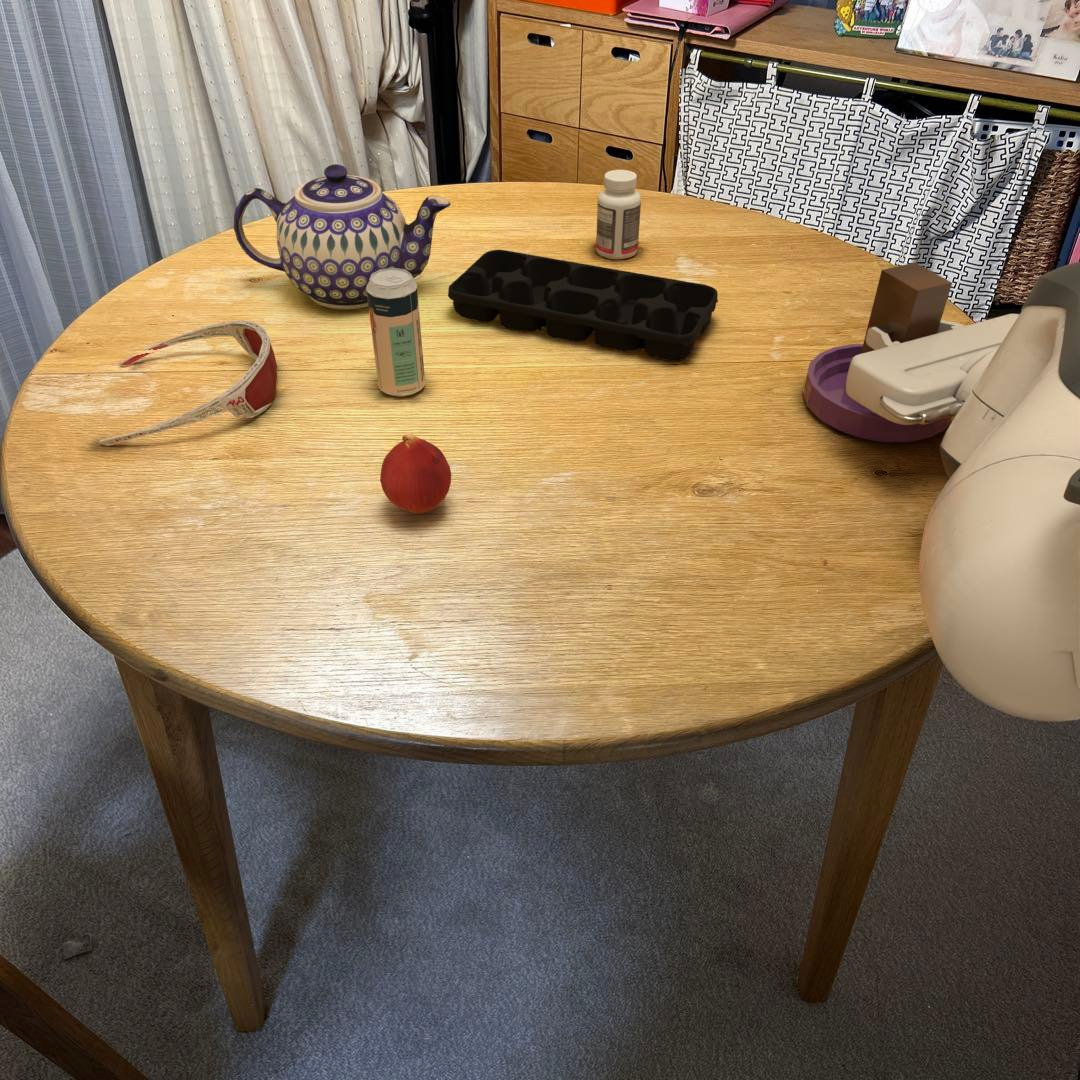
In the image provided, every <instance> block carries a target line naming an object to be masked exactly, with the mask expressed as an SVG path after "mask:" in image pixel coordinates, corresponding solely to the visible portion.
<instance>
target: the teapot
mask: <svg viewBox="0 0 1080 1080" xmlns="http://www.w3.org/2000/svg"><path fill="white" fill-rule="evenodd" d="M323 175H324V176H321V177H317V178H314V179H312V180H309V181H306V182H304V183H302V184H300V186H298V187H297V188H296V189H295V190H294V196H293V197H292V198H291V199H289V200H288V201H287V202H282V201H280V200H279V199H278V198H276V197H275V196H274V195H273V194H271V193H269V192H268V191H266V190H265V189H263V188H258V187H254V188H251V189H249V191H247V192H245V193H244V194H243V196H242V197H240V199H239V201H238V204H237V205H236V207H235V210H234V214H233V231H234V234H235V238H236V240H237V243H238V244H239V246H240V248H241V249H242V251H243V252H244V253H245V254H246V255H247V256H248V257H249V258H250V259H252V260H253V261H255V262H257V263H258V264H260V265H263V266H264V267H267V268H270V269H274V270H276V271H280V272H283V273H285V274H286V276H287V278H288V279H289V281H290V282H291V284H292V285H293V286H294V287H296V288H297V289H298V290H299V291H301V292H302V293H303V294H304V295H306V296H308V297H309V298H310V299H311V301H313V302H314V303H315V304H317V305H319V306H321V307H323V308H328V309H333V310H344V311H345V310H348V311H349V310H358V309H363V308H369V306H368V298H367V290H366V287H367V284H368V283H369V281H370V277H371V274H372V273H374V272H376V271H378V270H380V269H388V268H398V269H405V270H406V271H408V272H409V273H411V275H412V277H413V278H414V279H415V278H417V277H418V276H420V275H422V273H423V271H424V270H425V269H426V267H427V265H428V264H429V260H430V257H431V250H432V242H433V233H434V225H435V220H436V218H437V214H439V213H440V212H442V211H444V210H445V209H447V208H449V207H450V206H451V205H452V203H451V202H450V201H449V200H448V199H446V198H445V197H441V196H440V195H439V196H438V195H429V196H426V198H425V199H424V200H422V203H421V204H420V207H419V209H418V210H417V213H416V217H415V220H413V221H411V222H410V223H409V224H408V223H407V221H406V218H405V216H404V213H403V212H402V210H401V208H400V207H399V206H398V204H397V203H396V202H395V201H394V200H393V199H392V198H391V197H389V196H388V195H386V194H385V193H384V192H383V191H382V188H381V186H380V185H379V184H378V183H377V182H375V181H374V180H372V179H370V178H366V177H363V176H359V175H349V174H348V169H347V168H346V167H345V166H344V165H342V164H336V163H335V164H330V165H328V166H327V167H325V168H324V170H323ZM253 200H258V201H261V202H263V203H264V204H265V205H266V207H268V209H269V210H270V211H269V212H270V213H271V215H272V218H273V219H274V221H275V224H276V244H277V251H278V255H279V257H278V258H277V257H276V258H274V257H271V256H268V255H265V254H263V253H261V252H260V251H259V250H257V248H255V246H253V244H252V243H251V242H250V241H249V239H248V238H247V236H246V234H245V230H244V227H243V218H244V214H245V212H246V209H247V207H248V206H249V204H250V203H251V202H252V201H253Z"/></svg>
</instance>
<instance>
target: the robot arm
mask: <svg viewBox="0 0 1080 1080" xmlns="http://www.w3.org/2000/svg"><path fill="white" fill-rule="evenodd" d="M1020 311H1021V312H1020V313H1008V314H1004V315H1001V316H997V317H993V318H990V319H986V320H981V321H979V322H975V323H971V324H967V325H965V324H962V323H959V322H955V321H950V320H945V319H941V322H940V325H939V328H938V332H937V334H934V335H930V336H926V337H922V338H919V339H915V340H911V341H907V342H904V343H900V342H898V341H895V342H892V341H891V339H892V336H893V332H894V331H892V330H891V329H889V328H886V326H884V325H880V326H876V327H872V328H869V329H868V332H867V336H866V343H867V345H868V346H870V347H871V348H873V349H874V351H870V352H866V353H863V354H859V355H856V356H854V357H853V359H852V360H851V363H850V367H849V370H848V374H847V379H846V393H847V395H848V396H849V397H850V398H852V399H853V400H855V401H856V402H858V403H859V404H861V405H862V406H864V407H866V408H867V409H869V410H871V411H872V412H874V413H876V414H878V415H880V416H881V417H883V418H885V419H887V420H889V421H892V422H894V423H897V424H902V425H913V424H918V423H919V424H921V425H925V424H930V423H933V422H935V421H936V420H939V419H944V418H950V417H951V422H950V423H949V425H948V428H946V431H945V434H944V435H943V438H942V440H941V443H939V454H940V459H941V462H942V466H943V468H944V471H945V474H946V476H947V478H948V480H947V481H946V483H945V485H944V486H943V487H942V489H941V491H940V492H939V494H938V495H937V497H936V498H935V500H934V503H933V505H932V506H931V509H930V510H929V513H928V515H927V518H926V521H925V524H924V528H923V532H922V538H921V545H920V551H919V552H920V553H919V564H918V565H919V567H918V580H919V581H918V582H919V593H920V599H921V605H922V607H921V608H922V610H923V614H924V618H925V619H924V620H925V622H926V626H927V629H928V632H929V635H930V637H931V641H932V642H933V645H934V648H935V650H936V652H937V655H938V656H939V658H940V661H941V663H942V664H943V665H944V667H945V668H946V669H947V671H948V672H949V674H950V675H951V677H952V678H953V679H954V680H955V681H956V682H957V684H959V685H960V687H962V688H963V689H964V690H965V691H966V692H967V693H968V694H969V695H971V696H972V697H974V698H975V699H977V700H978V701H979V702H982V703H983V704H985V705H986V706H989V707H990V708H993V709H995V710H997V711H999V712H1001V713H1004V714H1007V715H1010V716H1013V717H1015V718H1019V719H1025V720H1028V721H1037V722H1045V723H1047V722H1048V723H1049V722H1052V723H1054V722H1055V723H1056V722H1059V723H1060V722H1061V723H1062V722H1069V721H1078V720H1080V261H1079V260H1078V261H1075V262H1072V263H1068V264H1066V265H1063V266H1061V267H1058V268H1055V269H1053V270H1051V271H1048V272H1046V273H1044V274H1042V275H1040V276H1038V278H1037V280H1036V281H1035V283H1034V285H1033V286H1032V289H1031V290H1030V292H1029V294H1028V296H1027V297H1026V299H1025V301H1024V303H1023V305H1022V307H1021V310H1020Z"/></svg>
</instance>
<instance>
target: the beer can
mask: <svg viewBox="0 0 1080 1080" xmlns="http://www.w3.org/2000/svg"><path fill="white" fill-rule="evenodd" d="M366 290H367V298H368V313H369V322H370V330H371V337H372V346H373V354H374V361H375V362H374V363H375V369H376V377H377V378H376V380H377V386H378V389H380V391H381V392H382V393H384V394H387V395H389V396H392V397H398V398H399V397H400V398H401V397H409V396H412V395H414V394H416V393H418V392H420V391H422V389H423V388H424V387H425V386H426V376H425V364H424V351H423V341H422V329H421V328H422V327H421V319H420V305H419V295H418V283H417V281H416V280H415V278H413V277H412V275H411V273H409V272H408V271H406V270H405V269H398V268H388V269H380V270H378V271H376V272H374V273H372V274H371V277H370V281H369V283H368V284H367V287H366Z"/></svg>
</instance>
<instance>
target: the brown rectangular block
mask: <svg viewBox="0 0 1080 1080" xmlns="http://www.w3.org/2000/svg"><path fill="white" fill-rule="evenodd" d="M952 285H953V282H951V281H950V280H948V279H946V278H944V277H943V276H941V275H939V274H937V273H936V272H934V271H931V270H930V269H928V268H926V267H924V266H923V265H921V264H919V263H918V262H911V263H907V264H901V265H897V266H892V267H889V268H884V269H882V270H881V271H880V275H879V280H878V283H877V287H876V291H875V295H874V299H873V303H872V308H871V312H870V315H869V319H868V322H867V323H868V324H867V326H866V331H865V336H864V339H863V343H862V344H863V347H862V351H861V354H863V353H866V352H870V351H874V349H873V348H871V347H870V346H868V345H867V343H866V336H867V332H868V329H869V328H872V327H876V326H880V325H884V326H886V328H889V329H891V330H892V331H894V332H893V336H892V339H891V341H892V342H895V341H898V342H900V343H904V342H907V341H911V340H915V339H919V338H922V337H926V336H930V335H934V334H937V332H938V328H939V325H940V322H941V320H942V318H943V315H944V312H945V308H946V306H947V301H948V299H949V296H950V293H951V289H952ZM844 389H846V383H845V387H844Z"/></svg>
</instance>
